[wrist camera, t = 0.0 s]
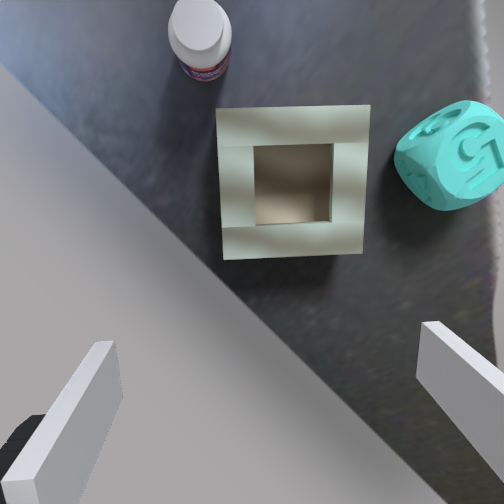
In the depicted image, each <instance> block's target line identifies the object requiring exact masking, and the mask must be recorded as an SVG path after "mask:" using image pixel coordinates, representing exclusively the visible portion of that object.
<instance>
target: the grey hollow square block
mask: <svg viewBox="0 0 504 504" xmlns="http://www.w3.org/2000/svg"><path fill="white" fill-rule="evenodd" d="M370 106H371V105H344V106H303V107H261V108H220V109H216V126H217V144H218V163H219V182H220V201H221V220H222V239H223V258H224V260H232V259H253V258H274V257H295V256H316V255H337V254H358V253H362V251H363V233H364V215H365V196H366V178H367V160H368V142H369V124H370Z"/></svg>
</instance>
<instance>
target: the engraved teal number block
mask: <svg viewBox="0 0 504 504" xmlns="http://www.w3.org/2000/svg"><path fill="white" fill-rule="evenodd" d="M394 164H395V167H396V169H397V171H398V173H399V175H400V177H401V178H402V180H403V181H404V183H405V184H406V185H407V187H408V188H409V189H410V190H411V191H412V192H413V193H414V194H415V195H416V196H417V197H418V198H419V199H420V200H421V201H422V202H424V203H425V204H427V205H428V206H430V207H432V208H434V209H436V210H442V211H449V210H455V209H459V208H463V207H466V206H468V205H471V204H473V203H475V202H477V201H479V200H481V199H483V198H485V197H486V196H488V195H490V194H491V193H492V192H494V191H495V190H496V189H498V188H499V187H500V186H501V185H502V184H503V183H504V120H503V119H502V118H501V117H500V116H499V115H498V114H497V113H496V112H495V111H493V110H492V109H491V108H489V107H487V106H486V105H484V104H481V103H479V102H475V101H468V100H465V101H460V102H457V103H454V104H452V105H449V106H447V107H445V108H443V109H441V110H439V111H438V112H436V113H434V114H432V115H431V116H429V117H428V118H426V119H425V120H423V121H422V122H420V123H419V124H417V125H416V126H415V127H414V128H412V129H411V130H410V131H409V132H408V133H407V134H405V135H404V136H403V137H402V139H401V140H400V141H399V142H398V144H397V146H396V150H395V155H394Z"/></svg>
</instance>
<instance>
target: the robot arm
mask: <svg viewBox="0 0 504 504" xmlns="http://www.w3.org/2000/svg"><path fill="white" fill-rule="evenodd" d="M416 378H417V379H418V380H419V381H420V383H421V384H422V385H423V386H424V387H425V389H426V390H427V391H428V392H429V393H430V395H431V396H432V397H433V398H434V399H435V401H436V402H437V403H438V404H439V405H440V407H441V408H442V409H443V410H444V411H445V413H446V414H447V415H448V416H449V417H450V419H451V420H452V421H453V422H454V424H455V425H456V426H457V427H458V428H459V430H460V431H461V432H462V433H463V434H464V436H465V437H466V438H467V439H468V440H469V442H470V443H471V444H472V445H473V446H474V448H475V449H476V450H477V451H478V452H479V454H480V455H481V456H482V457H483V458H484V460H485V461H486V462H487V463H488V464H489V466H490V467H491V468H492V469H493V470H494V472H495V473H496V474H497V475H498V476H499V478H500V479H501V480H502V481H503V482H504V373H502V372H501V371H500V370H499V369H497V368H496V367H495V366H494V365H492V364H491V363H490V362H489V361H488V360H486V359H485V358H484V357H483V356H481V355H480V354H479V353H478V352H476V351H475V350H474V349H473V348H471V347H470V346H469V345H468V344H467V343H465V342H464V341H463V340H462V339H460V338H459V337H458V336H457V335H455V334H454V333H453V332H452V331H450V330H449V329H448V328H447V327H445V326H444V325H443V324H442V323H441V322H439V321H435V322H422V327H421V336H420V345H419V355H418V364H417V373H416ZM122 398H123V394H122V387H121V380H120V373H119V367H118V360H117V353H116V346H115V341H114V340H113V341H96V342H95V343H94V345H93V347H92V348H91V349H90V351H89V352H88V354H87V355H86V357H85V358H84V360H83V361H82V363H81V364H80V365H79V367H78V368H77V370H76V371H75V373H74V374H73V376H72V377H71V379H70V380H69V382H68V383H67V385H66V386H65V388H64V389H63V390H62V392H61V393H60V395H59V396H58V398H57V399H56V401H55V402H54V404H53V405H52V407H51V408H50V410H49V411H48V413H47V414H44V415H32V416H31V417H29V418H28V419H27V420H25V421H24V422H23V423H22V424H20V425H19V426H18V427H17V428H16V429H15V430H14V432H13V433H12V435H11V436H10V437H9V439H8V440H7V443H5V444H4V445H3V446H2V448H1V449H0V504H79V501H80V499H81V496H82V494H83V491H84V489H85V487H86V484H87V482H88V480H89V477H90V475H91V473H92V470H93V468H94V465H95V463H96V461H97V458H98V456H99V453H100V451H101V449H102V446H103V444H104V441H105V439H106V437H107V434H108V432H109V429H110V427H111V425H112V422H113V420H114V417H115V415H116V413H117V410H118V408H119V405H120V403H121V400H122Z"/></svg>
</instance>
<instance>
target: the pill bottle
mask: <svg viewBox="0 0 504 504" xmlns="http://www.w3.org/2000/svg"><path fill="white" fill-rule="evenodd" d="M168 37H169V41H170V45H171V47H172V49H173V51H174V53H175V55H176V57H177V59H178V61H179V63H180V65H181V67H182V68H183V70H184V71H185V72H186V73H187V74H188V75H189V76H191V77H192V78H194V79H196V80H200V81H211V80H214V79H216V78H218V77H219V76H220V75H221V74H222V73H223V72H224V71H225V70H226V68H227V66H228V64H229V60H230V54H231V39H232V32H231V25H230V21H229V19H228V16H227V15H226V13H225V11H224V10H223V9H222V7H221V6H220V5H219V4H217V3H216V2H215V1H214V0H178V2H177V3H176V5H175V6H174V9H173V12H172V14H171V16H170V19H169V23H168Z"/></svg>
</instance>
